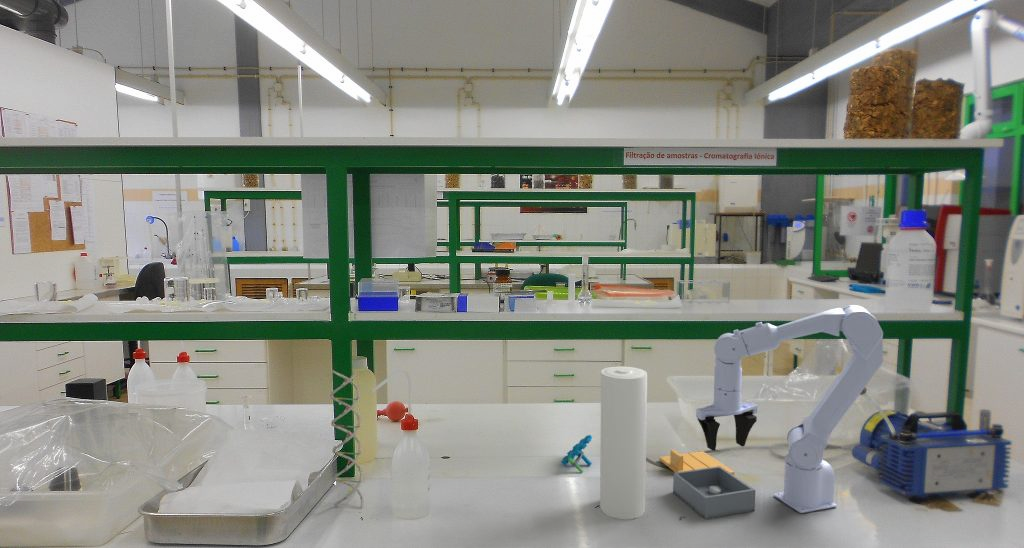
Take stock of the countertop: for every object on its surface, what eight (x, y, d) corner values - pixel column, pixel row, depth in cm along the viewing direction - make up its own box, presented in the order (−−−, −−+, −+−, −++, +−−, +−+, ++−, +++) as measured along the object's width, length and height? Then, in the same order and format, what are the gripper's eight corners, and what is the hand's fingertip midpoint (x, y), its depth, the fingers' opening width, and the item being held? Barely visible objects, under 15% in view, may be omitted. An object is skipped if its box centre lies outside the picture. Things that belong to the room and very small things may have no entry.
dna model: (370, 501, 125) (365, 367, 122) (356, 516, 119) (351, 375, 115) (342, 498, 126) (336, 366, 123) (327, 513, 120) (321, 374, 117)
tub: (719, 484, 131) (719, 466, 131) (754, 510, 120) (755, 490, 119) (673, 492, 128) (673, 472, 127) (704, 519, 116) (705, 498, 116)
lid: (702, 456, 147) (703, 438, 147) (734, 477, 135) (734, 457, 135) (659, 462, 144) (659, 443, 143) (687, 485, 132) (688, 464, 131)
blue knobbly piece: (568, 447, 149) (593, 426, 144) (584, 464, 148) (609, 444, 144) (552, 469, 140) (578, 448, 135) (569, 488, 139) (596, 467, 134)
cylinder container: (633, 494, 127) (635, 362, 124) (652, 516, 118) (655, 374, 115) (593, 499, 125) (594, 365, 122) (610, 521, 116) (611, 377, 113)
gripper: (743, 380, 133) (741, 436, 134) (688, 385, 129) (687, 443, 130) (764, 388, 126) (762, 448, 127) (707, 394, 122) (706, 455, 123)
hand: (725, 446), depth 128 cm, fingers open, 7 cm apart
